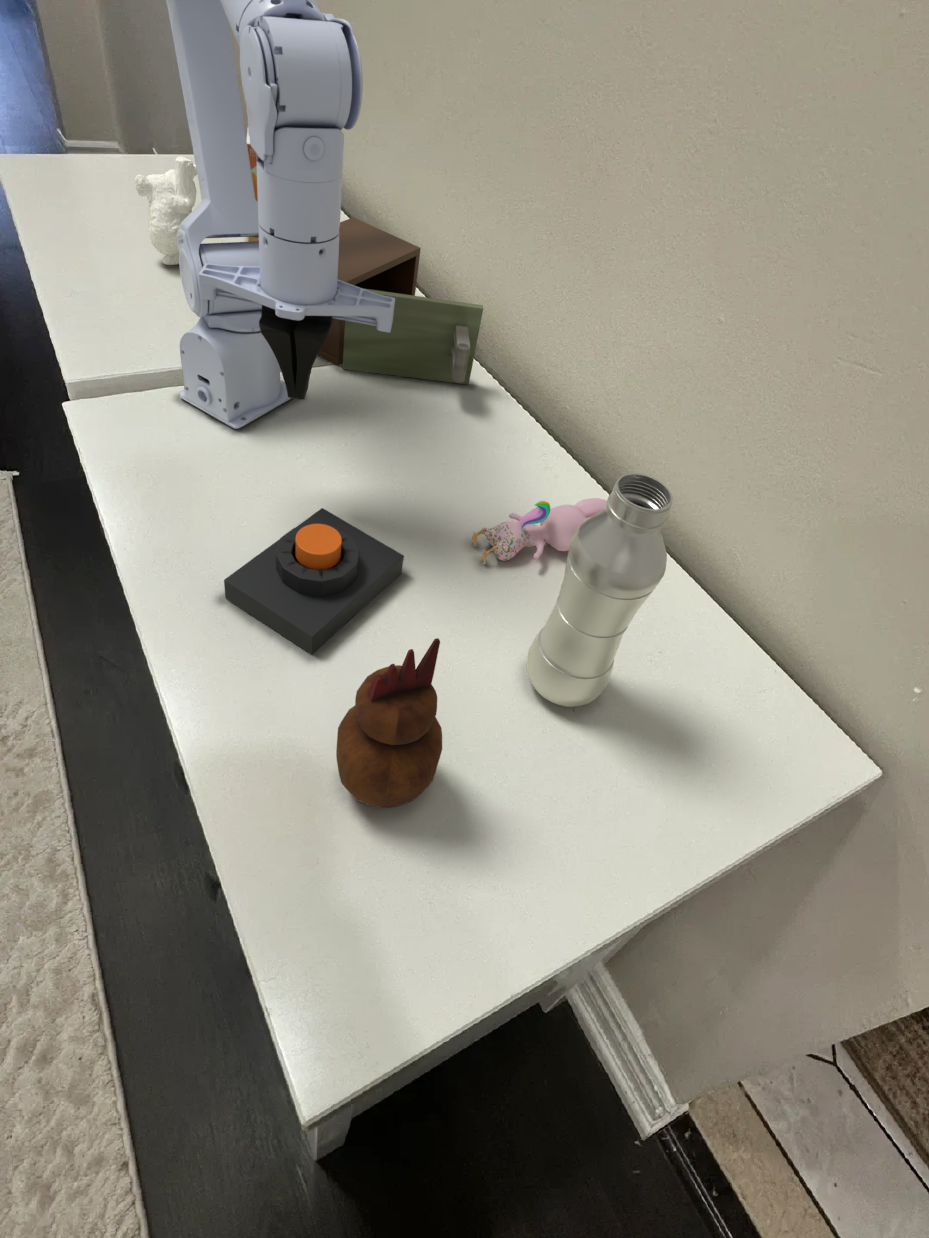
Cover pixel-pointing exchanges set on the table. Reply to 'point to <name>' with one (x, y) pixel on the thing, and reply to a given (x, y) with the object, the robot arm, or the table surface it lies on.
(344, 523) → the control block
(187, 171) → the koala figurine
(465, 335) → the cupboard door
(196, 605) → the table surface
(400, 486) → the table surface
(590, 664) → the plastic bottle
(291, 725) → the table surface
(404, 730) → the wooden figurine
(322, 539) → the button
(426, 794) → the table surface
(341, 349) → the cupboard
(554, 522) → the pink plastic animal figure
